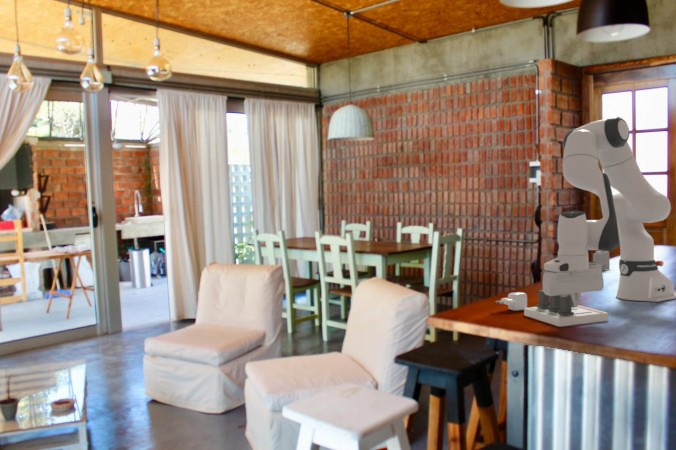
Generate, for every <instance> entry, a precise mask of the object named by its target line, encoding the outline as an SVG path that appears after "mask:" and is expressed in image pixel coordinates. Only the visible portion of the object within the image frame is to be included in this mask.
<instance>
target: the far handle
mask: <svg viewBox="0 0 676 450" xmlns="http://www.w3.org/2000/svg"><path fill="white" fill-rule="evenodd" d="M536 307H538V308H542V309H545V308H550V296H548V295H545V294H544V292H543V289H540V290H538V304H536Z"/></svg>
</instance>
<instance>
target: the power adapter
mask: <svg viewBox="0 0 676 450" xmlns="http://www.w3.org/2000/svg"><path fill="white" fill-rule="evenodd" d="M495 303H496V304H498V303H499V304H500V305H506V306H508V307H507V308H508V310H511V311H524V308H528V295H527V293H525V292H523V291H517V292H516V291H515V292H510V293H508V294H507V297H503V298H500V300H495Z"/></svg>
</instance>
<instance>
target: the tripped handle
mask: <svg viewBox="0 0 676 450" xmlns="http://www.w3.org/2000/svg"><path fill="white" fill-rule="evenodd" d="M558 314H560V315H564V316H569V315H574V312H572V309H571V297H570V296H560V311H558Z"/></svg>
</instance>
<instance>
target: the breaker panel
mask: <svg viewBox="0 0 676 450" xmlns="http://www.w3.org/2000/svg"><path fill="white" fill-rule="evenodd" d="M571 309H572V312H574V315H569V316H564V315H560V314H558V312H552V311H549V310H548V308H545V309H542V308H538V307H537V306H531V307H527V308H524V310H523V312H524V313H523V314H524V315H523V316H525V317H527V318H528V317H529V318H531V319H534V320H537V321H541V322H543V323H546V324H550V325H552V326H553V325H554V326H555V327H568V326H569V327H570V326H576V325H577V326H578V325H583V324H584V325H585V324H591V323H599V322H608V321H609V313H608V312H607V311H602V310H600V309H599V310H598V309H595V308H591V307H587V306H582V305H579V304H578V307H576V308H572V307H571Z"/></svg>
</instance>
